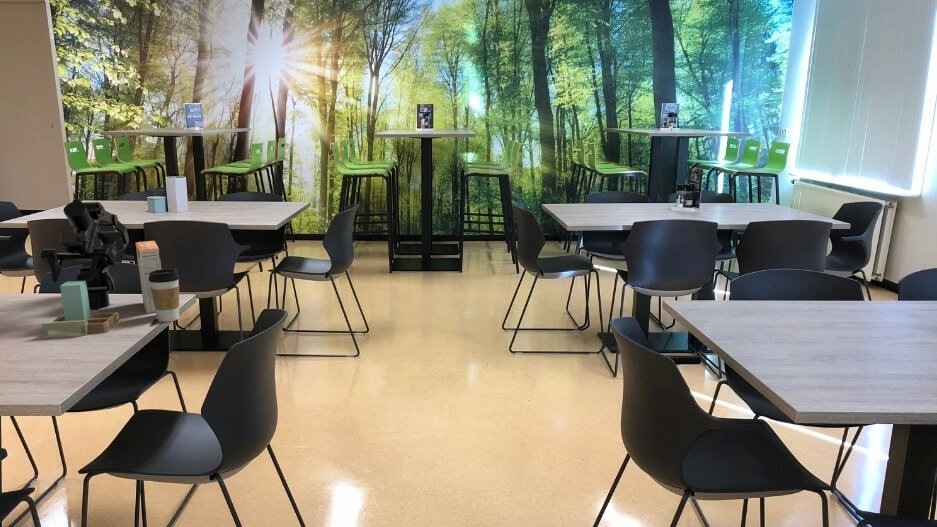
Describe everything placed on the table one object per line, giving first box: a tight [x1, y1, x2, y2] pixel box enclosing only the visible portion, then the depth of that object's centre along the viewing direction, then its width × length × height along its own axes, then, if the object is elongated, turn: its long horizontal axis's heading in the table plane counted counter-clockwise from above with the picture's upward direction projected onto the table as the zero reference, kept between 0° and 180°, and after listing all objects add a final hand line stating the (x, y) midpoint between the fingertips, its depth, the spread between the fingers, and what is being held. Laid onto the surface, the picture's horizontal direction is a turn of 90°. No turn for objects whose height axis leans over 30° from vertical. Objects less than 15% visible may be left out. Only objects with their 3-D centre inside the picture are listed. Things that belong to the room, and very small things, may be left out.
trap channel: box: [41, 311, 120, 339], centre depth 184 cm, size 14×15×5 cm
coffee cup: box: [149, 268, 180, 323], centre depth 194 cm, size 8×8×15 cm
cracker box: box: [135, 240, 162, 314], centre depth 203 cm, size 14×6×21 cm, turn 30°
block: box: [59, 280, 92, 324], centre depth 186 cm, size 5×5×12 cm
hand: (71, 281), depth 187 cm, fingers open, 9 cm apart
